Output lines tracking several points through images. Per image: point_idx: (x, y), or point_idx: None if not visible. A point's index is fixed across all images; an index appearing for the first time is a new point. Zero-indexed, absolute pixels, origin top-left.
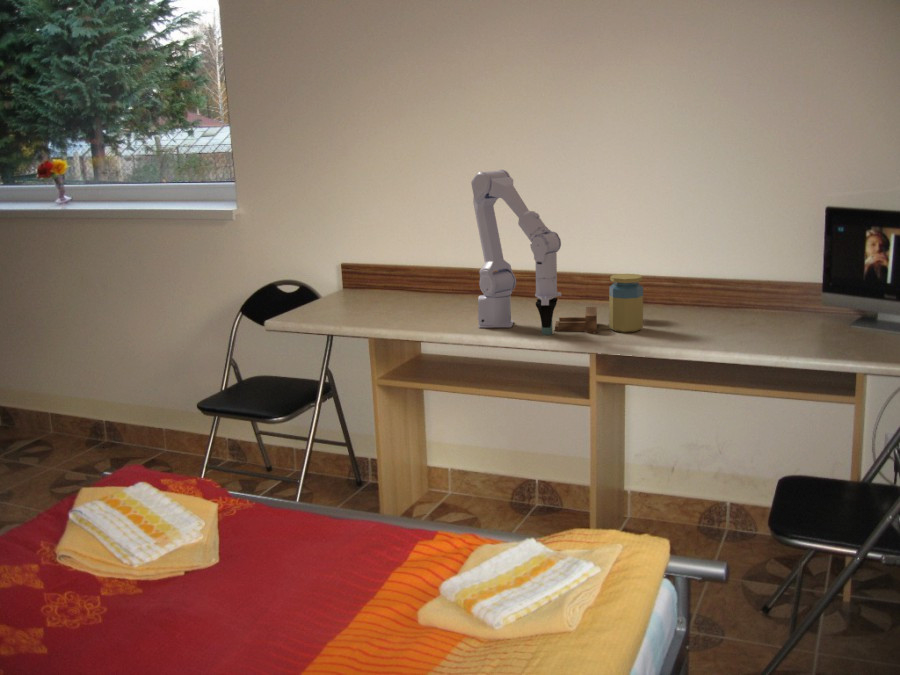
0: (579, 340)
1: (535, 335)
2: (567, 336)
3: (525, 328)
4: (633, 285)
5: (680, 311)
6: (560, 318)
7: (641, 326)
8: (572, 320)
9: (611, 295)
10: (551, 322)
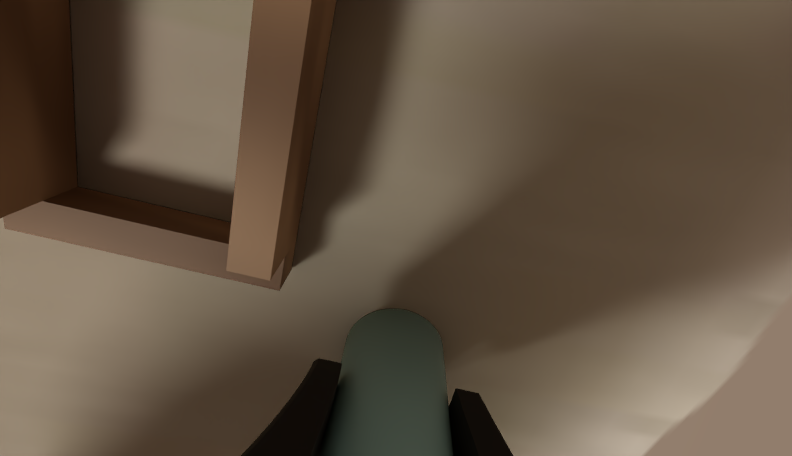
0: (788, 120)
1: None
2: (555, 202)
3: (166, 451)
4: None
5: None
6: (2, 201)
7: None
8: (10, 38)
9: None
10: (432, 407)
